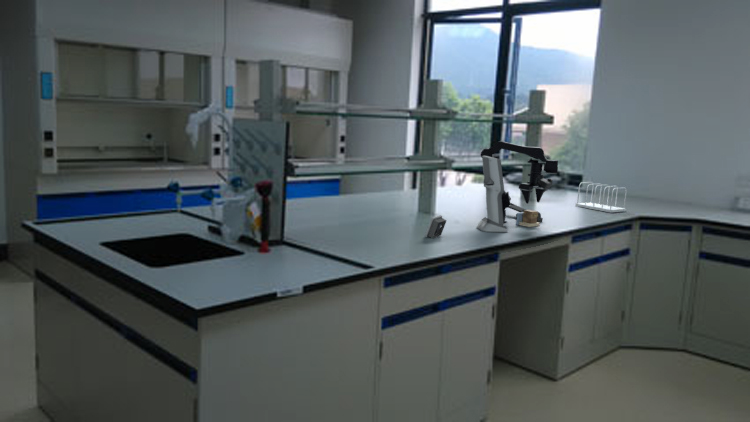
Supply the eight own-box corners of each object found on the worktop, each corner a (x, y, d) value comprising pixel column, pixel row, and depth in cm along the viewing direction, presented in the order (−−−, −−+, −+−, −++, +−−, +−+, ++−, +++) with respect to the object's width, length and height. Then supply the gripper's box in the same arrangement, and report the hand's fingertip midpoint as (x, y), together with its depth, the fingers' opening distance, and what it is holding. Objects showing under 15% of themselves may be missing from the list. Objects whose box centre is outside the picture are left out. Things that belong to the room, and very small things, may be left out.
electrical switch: (434, 234, 270) (437, 214, 267) (444, 237, 267) (447, 217, 265) (424, 237, 262) (427, 216, 260) (434, 240, 259) (438, 219, 257)
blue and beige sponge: (540, 225, 307) (541, 214, 306) (527, 227, 300) (528, 215, 299) (528, 222, 313) (530, 211, 312) (515, 224, 306) (517, 212, 305)
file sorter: (626, 211, 375) (629, 187, 372) (610, 213, 364) (614, 188, 361) (590, 205, 394) (593, 181, 391) (574, 206, 383) (577, 182, 380)
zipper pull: (510, 202, 337) (546, 210, 317) (509, 213, 338) (544, 222, 318) (499, 202, 332) (535, 210, 312) (498, 214, 333) (533, 223, 313)
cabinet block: (538, 223, 305) (539, 211, 304) (532, 224, 302) (533, 212, 301) (528, 221, 309) (529, 209, 308) (522, 221, 306) (523, 210, 305)
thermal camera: (473, 226, 292) (480, 155, 286) (498, 227, 295) (505, 156, 289) (483, 232, 281) (490, 157, 275) (508, 232, 284) (516, 158, 278)
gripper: (538, 174, 289) (535, 206, 292) (560, 173, 301) (556, 204, 304) (519, 172, 298) (516, 203, 300) (541, 171, 310) (538, 200, 312)
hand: (532, 202), depth 304 cm, fingers open, 9 cm apart
